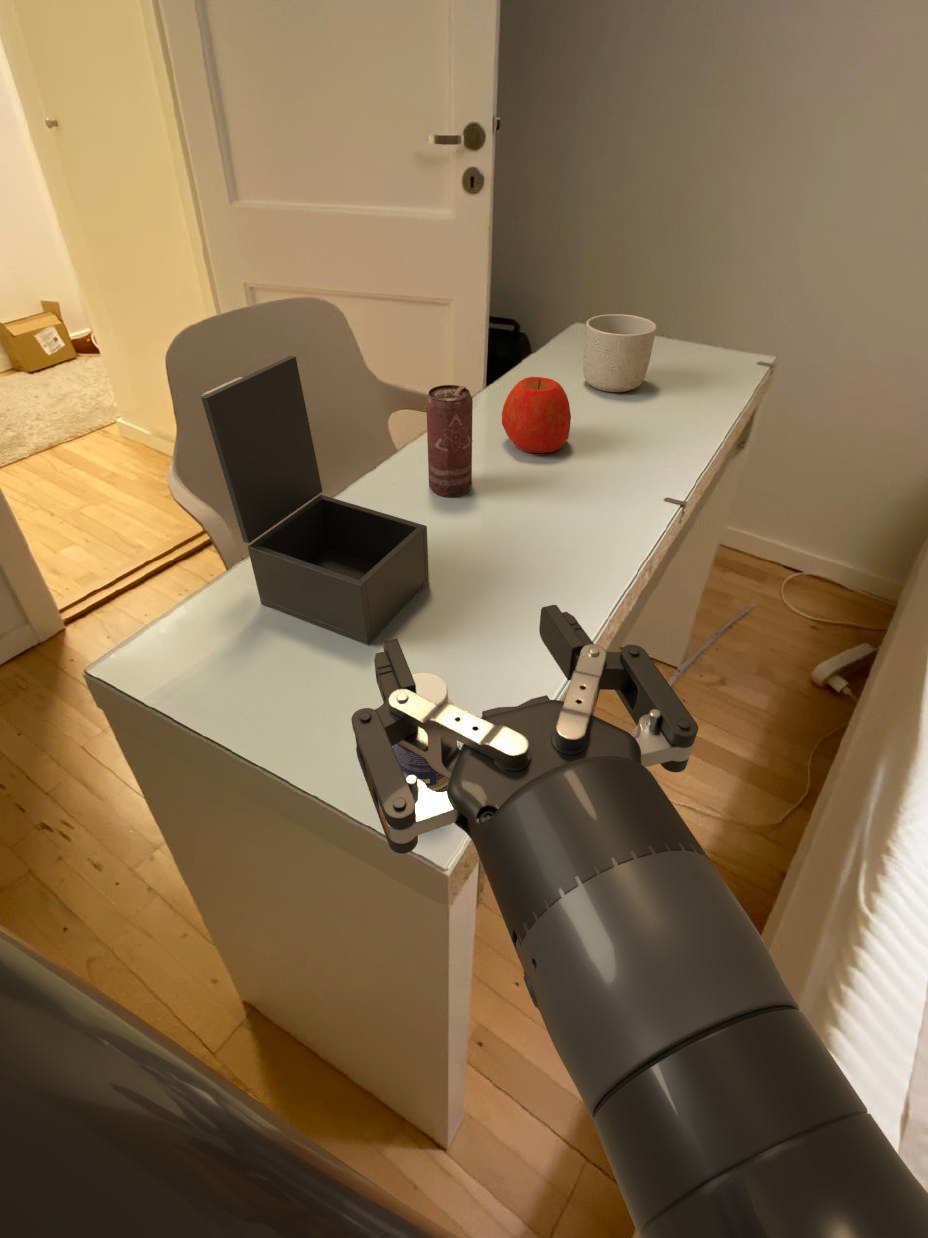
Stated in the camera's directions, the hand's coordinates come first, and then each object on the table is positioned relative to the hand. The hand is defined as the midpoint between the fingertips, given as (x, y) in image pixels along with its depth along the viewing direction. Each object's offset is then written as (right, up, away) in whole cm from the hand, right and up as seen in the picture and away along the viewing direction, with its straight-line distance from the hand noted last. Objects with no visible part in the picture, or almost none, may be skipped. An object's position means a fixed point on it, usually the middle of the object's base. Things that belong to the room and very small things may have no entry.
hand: (470, 634), depth 35 cm
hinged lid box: (-14, +4, +43) cm, 45 cm away
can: (-2, +20, +62) cm, 65 cm away
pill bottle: (-4, -12, +24) cm, 27 cm away
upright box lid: (-20, +18, +36) cm, 45 cm away
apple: (+11, +28, +73) cm, 79 cm away
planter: (+28, +45, +93) cm, 107 cm away
